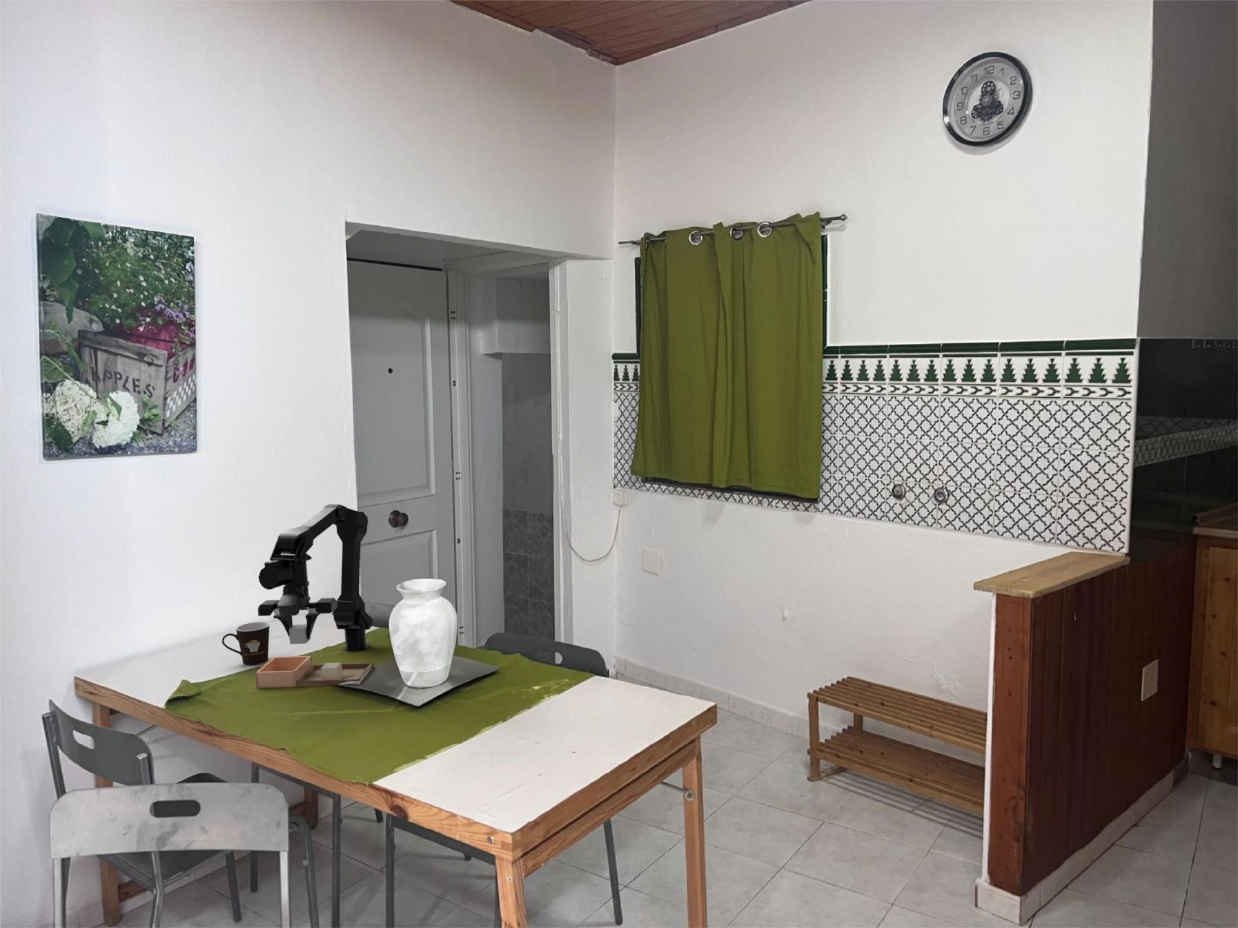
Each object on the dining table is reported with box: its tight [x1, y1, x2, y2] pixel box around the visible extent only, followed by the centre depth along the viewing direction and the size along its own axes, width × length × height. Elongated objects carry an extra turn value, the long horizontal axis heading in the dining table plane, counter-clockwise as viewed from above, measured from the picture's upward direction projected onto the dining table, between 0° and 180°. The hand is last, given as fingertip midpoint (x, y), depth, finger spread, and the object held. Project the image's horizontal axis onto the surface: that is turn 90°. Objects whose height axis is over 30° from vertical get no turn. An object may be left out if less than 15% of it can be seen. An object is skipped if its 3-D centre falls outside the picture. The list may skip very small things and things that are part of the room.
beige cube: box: [321, 662, 343, 680], centre depth 229 cm, size 4×4×4 cm
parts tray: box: [296, 662, 375, 688], centre depth 232 cm, size 13×16×2 cm
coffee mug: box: [221, 621, 270, 666], centre depth 248 cm, size 12×9×10 cm
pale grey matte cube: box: [288, 623, 311, 645], centre depth 233 cm, size 4×4×4 cm
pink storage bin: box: [255, 655, 313, 689], centre depth 231 cm, size 12×10×4 cm
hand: (300, 639), depth 233 cm, fingers closed on pale grey matte cube, 4 cm apart
